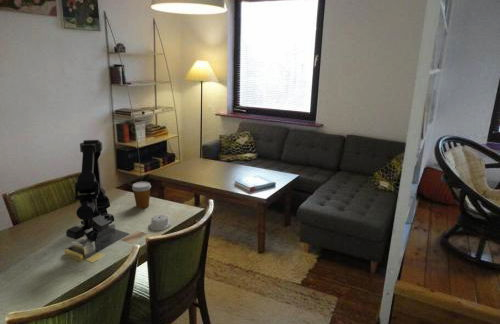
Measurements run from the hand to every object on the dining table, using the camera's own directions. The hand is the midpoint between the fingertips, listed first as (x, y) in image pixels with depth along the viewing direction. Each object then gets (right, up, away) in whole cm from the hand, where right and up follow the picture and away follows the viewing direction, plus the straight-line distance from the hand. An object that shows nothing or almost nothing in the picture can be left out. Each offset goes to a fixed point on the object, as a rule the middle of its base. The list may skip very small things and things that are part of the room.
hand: (93, 244), depth 144 cm
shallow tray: (+1, -1, +3) cm, 3 cm away
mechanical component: (+22, +3, +21) cm, 30 cm away
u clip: (-2, -2, -3) cm, 5 cm away
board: (+14, +1, +9) cm, 17 cm away
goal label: (+4, -4, -7) cm, 9 cm away
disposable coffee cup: (+8, +10, +41) cm, 43 cm away
